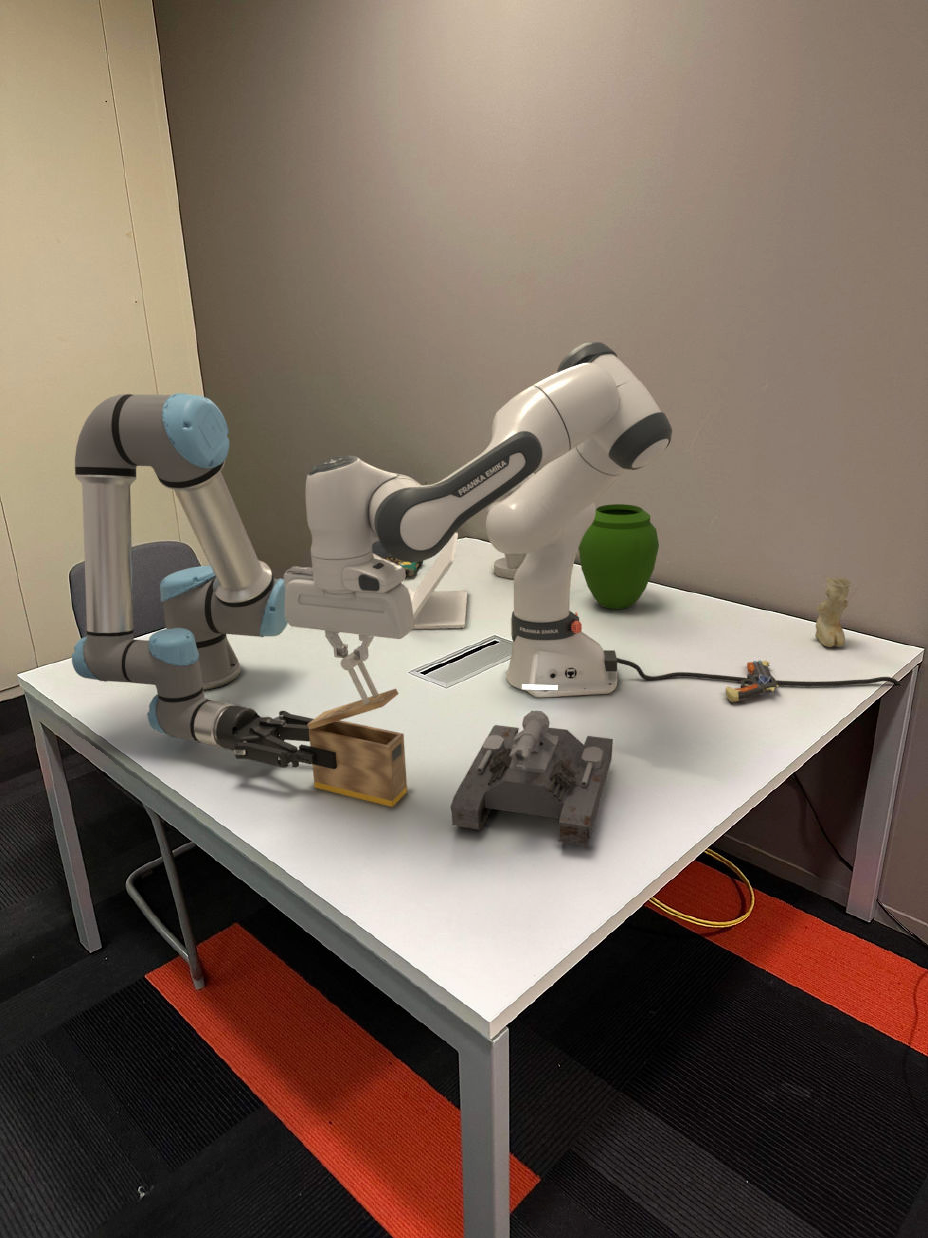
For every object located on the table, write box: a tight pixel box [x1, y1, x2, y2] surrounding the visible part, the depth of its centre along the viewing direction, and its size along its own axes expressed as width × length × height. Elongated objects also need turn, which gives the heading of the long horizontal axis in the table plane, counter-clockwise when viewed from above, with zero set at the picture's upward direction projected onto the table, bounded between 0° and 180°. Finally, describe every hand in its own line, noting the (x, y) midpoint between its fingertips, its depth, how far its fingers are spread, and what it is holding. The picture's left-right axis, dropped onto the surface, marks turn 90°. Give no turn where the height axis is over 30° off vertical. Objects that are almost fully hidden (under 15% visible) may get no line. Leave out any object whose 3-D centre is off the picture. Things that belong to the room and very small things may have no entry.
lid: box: [307, 651, 399, 729], centre depth 132 cm, size 15×5×9 cm, turn 65°
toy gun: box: [724, 660, 779, 703], centre depth 168 cm, size 3×19×10 cm
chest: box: [309, 720, 408, 808], centre depth 135 cm, size 15×5×10 cm, turn 64°
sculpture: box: [814, 576, 852, 648], centre depth 185 cm, size 6×7×15 cm
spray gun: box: [384, 554, 424, 577], centre depth 246 cm, size 4×17×15 cm
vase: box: [578, 503, 660, 610], centre depth 210 cm, size 20×20×24 cm
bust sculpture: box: [485, 467, 543, 579], centre depth 231 cm, size 16×24×35 cm
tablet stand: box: [407, 531, 468, 630], centre depth 211 cm, size 18×25×17 cm
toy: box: [450, 710, 614, 846], centre depth 130 cm, size 25×20×15 cm
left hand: (344, 752), depth 136 cm, fingers closed on chest, 5 cm apart
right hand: (351, 658), depth 129 cm, fingers closed on lid, 2 cm apart
